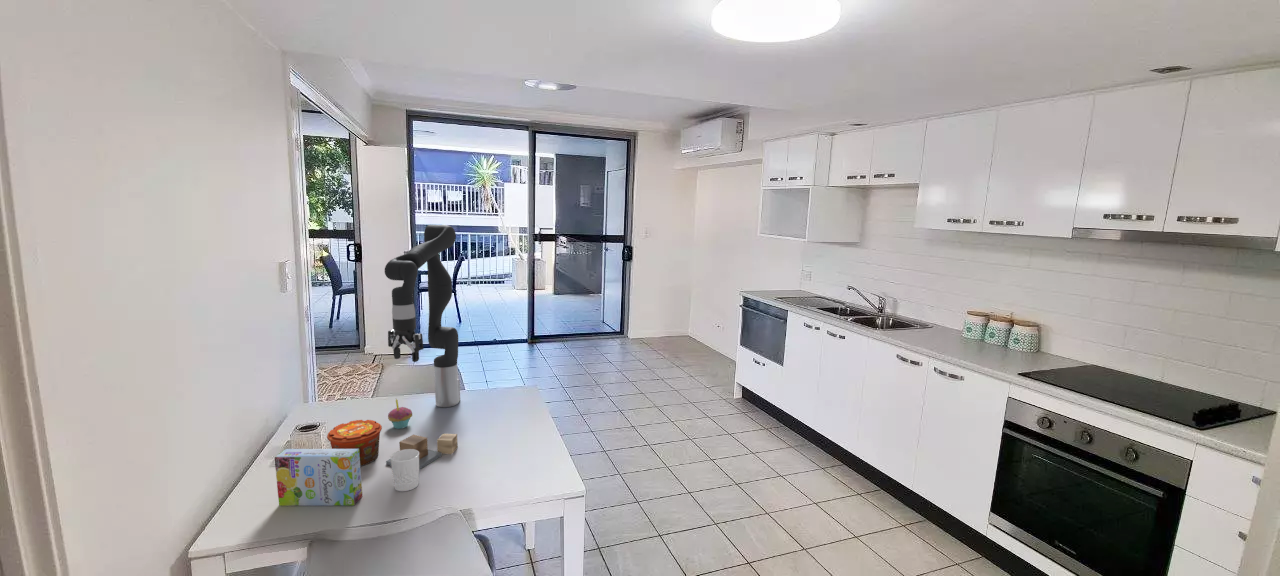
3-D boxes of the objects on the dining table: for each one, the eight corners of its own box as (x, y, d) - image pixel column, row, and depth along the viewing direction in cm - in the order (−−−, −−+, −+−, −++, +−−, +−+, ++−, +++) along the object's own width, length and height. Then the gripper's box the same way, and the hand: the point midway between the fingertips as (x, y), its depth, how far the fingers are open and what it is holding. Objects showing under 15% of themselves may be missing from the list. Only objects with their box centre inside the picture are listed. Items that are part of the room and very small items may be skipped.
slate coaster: (414, 448, 185) (414, 445, 185) (441, 455, 180) (441, 452, 180) (386, 464, 174) (386, 461, 174) (414, 472, 170) (414, 468, 169)
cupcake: (406, 431, 199) (404, 400, 197) (384, 430, 199) (381, 400, 197) (416, 421, 207) (415, 392, 205) (395, 421, 207) (393, 391, 205)
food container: (361, 473, 168) (358, 441, 167) (317, 467, 171) (314, 436, 170) (393, 450, 184) (392, 421, 182) (353, 445, 187) (351, 416, 185)
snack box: (363, 495, 156) (360, 447, 153) (354, 506, 150) (350, 456, 148) (289, 495, 155) (285, 447, 153) (277, 506, 150) (272, 456, 147)
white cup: (412, 476, 167) (411, 446, 165) (425, 485, 162) (424, 454, 161) (387, 486, 161) (385, 455, 159) (400, 495, 156) (398, 464, 155)
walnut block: (414, 451, 181) (413, 434, 180) (428, 454, 179) (427, 437, 178) (400, 458, 175) (399, 441, 174) (414, 462, 173) (413, 445, 172)
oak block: (443, 447, 187) (443, 433, 186) (457, 447, 187) (457, 434, 186) (437, 453, 182) (437, 440, 181) (452, 454, 182) (451, 440, 181)
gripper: (427, 316, 191) (429, 359, 193) (397, 312, 196) (399, 354, 199) (411, 320, 184) (413, 365, 187) (380, 316, 189) (383, 360, 192)
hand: (406, 360), depth 193 cm, fingers open, 8 cm apart
